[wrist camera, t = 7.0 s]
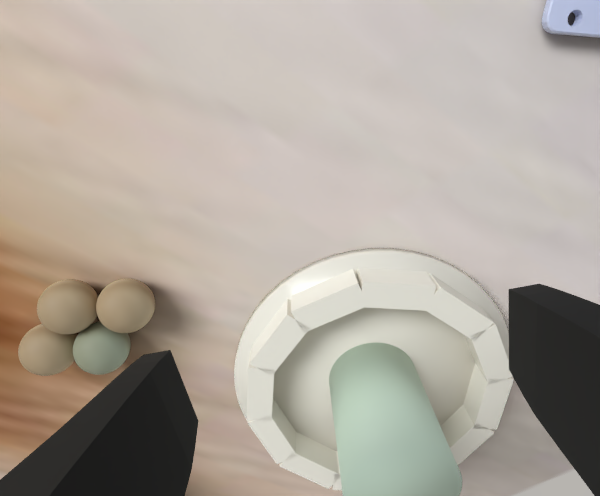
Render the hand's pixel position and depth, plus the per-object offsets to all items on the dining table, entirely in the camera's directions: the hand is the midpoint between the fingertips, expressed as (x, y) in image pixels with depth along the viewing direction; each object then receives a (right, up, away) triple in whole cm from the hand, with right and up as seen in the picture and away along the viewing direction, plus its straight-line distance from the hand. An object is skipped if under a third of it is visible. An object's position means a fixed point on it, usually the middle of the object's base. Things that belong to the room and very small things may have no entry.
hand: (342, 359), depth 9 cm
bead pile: (-10, -1, +11) cm, 15 cm away
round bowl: (+3, -4, +12) cm, 13 cm away
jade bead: (+3, -4, +12) cm, 13 cm away
